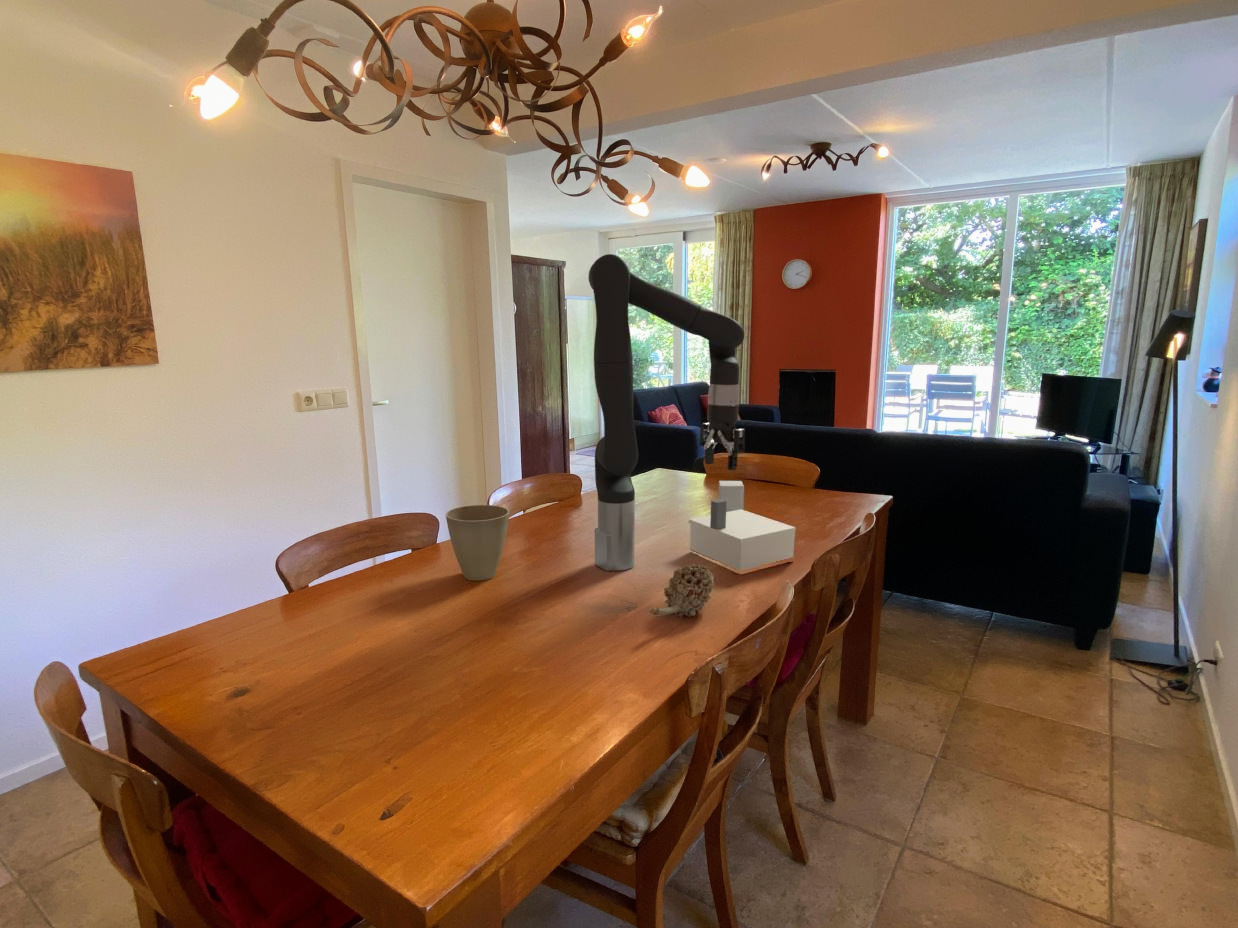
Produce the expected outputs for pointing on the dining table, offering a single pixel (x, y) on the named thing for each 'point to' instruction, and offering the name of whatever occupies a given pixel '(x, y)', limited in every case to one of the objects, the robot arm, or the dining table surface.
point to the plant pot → (478, 538)
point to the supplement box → (732, 494)
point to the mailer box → (741, 549)
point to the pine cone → (687, 591)
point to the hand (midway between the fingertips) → (720, 467)
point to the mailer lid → (740, 524)
